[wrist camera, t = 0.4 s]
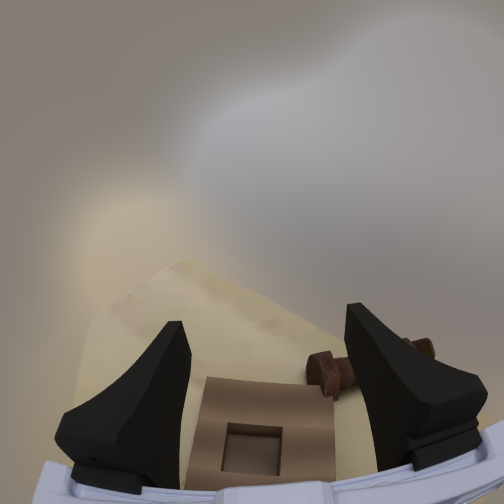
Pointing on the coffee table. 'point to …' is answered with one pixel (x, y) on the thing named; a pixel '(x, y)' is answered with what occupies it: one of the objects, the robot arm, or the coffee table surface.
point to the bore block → (261, 435)
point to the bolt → (345, 369)
